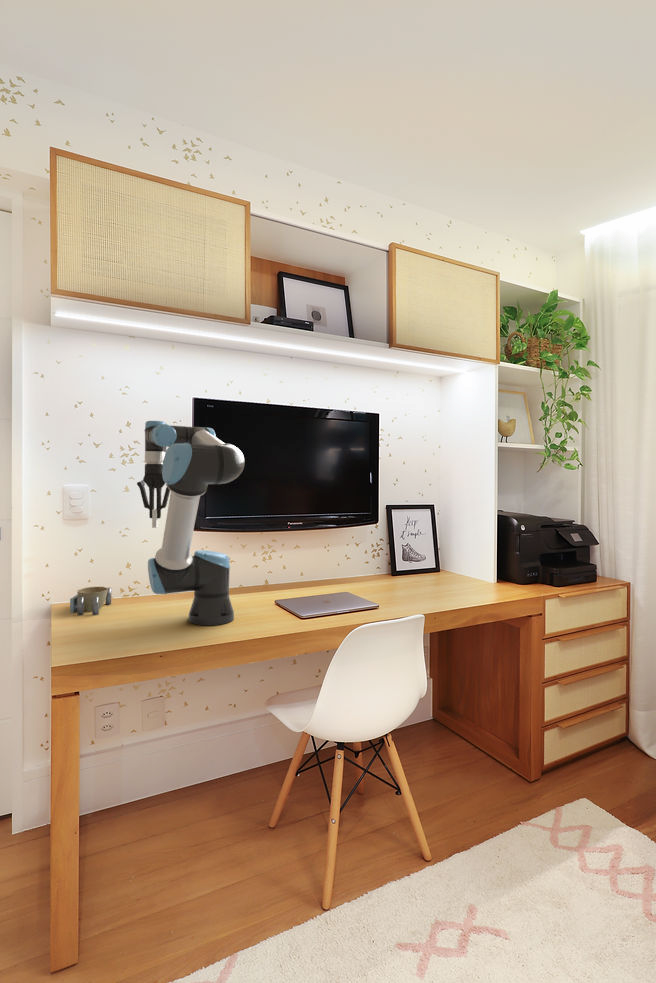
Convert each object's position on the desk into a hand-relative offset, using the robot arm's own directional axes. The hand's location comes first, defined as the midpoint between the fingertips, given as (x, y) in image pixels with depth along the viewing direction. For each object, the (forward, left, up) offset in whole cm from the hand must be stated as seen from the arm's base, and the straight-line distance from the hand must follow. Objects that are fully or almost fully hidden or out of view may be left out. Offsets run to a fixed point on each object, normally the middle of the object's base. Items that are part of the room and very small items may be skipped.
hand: (155, 527), depth 194 cm
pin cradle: (+22, +4, -29) cm, 37 cm away
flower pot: (+21, +4, -30) cm, 36 cm away
